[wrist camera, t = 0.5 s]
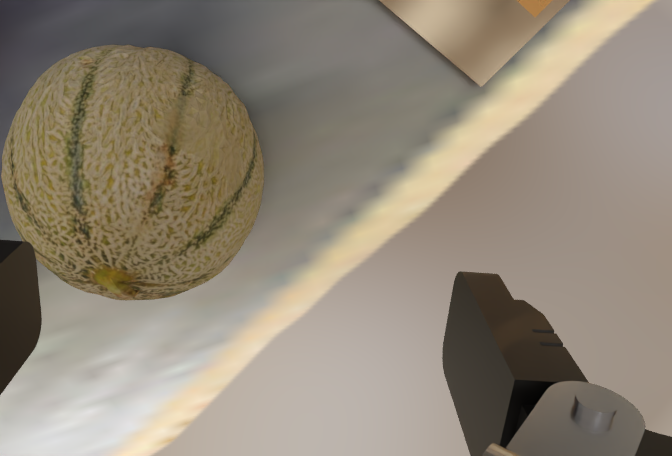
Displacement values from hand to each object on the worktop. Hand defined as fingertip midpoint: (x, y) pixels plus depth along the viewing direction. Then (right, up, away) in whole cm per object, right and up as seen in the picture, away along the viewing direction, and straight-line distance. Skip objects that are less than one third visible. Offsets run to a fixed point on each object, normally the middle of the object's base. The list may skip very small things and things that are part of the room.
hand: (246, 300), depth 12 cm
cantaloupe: (-9, +9, +31) cm, 34 cm away
